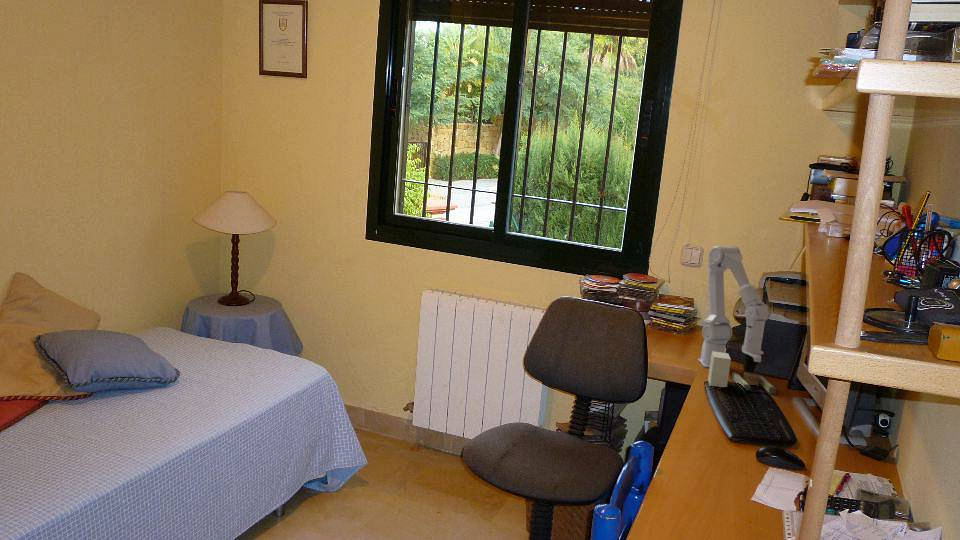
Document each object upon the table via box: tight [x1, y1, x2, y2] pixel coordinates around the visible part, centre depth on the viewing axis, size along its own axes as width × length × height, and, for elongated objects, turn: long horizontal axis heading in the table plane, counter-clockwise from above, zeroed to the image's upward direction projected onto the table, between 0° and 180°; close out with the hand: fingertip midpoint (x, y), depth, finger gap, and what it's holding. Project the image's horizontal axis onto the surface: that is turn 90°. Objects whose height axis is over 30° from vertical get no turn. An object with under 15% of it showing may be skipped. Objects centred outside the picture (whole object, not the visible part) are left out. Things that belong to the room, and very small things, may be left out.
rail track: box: [731, 372, 777, 396], centre depth 272 cm, size 15×10×2 cm, turn 0°
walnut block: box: [742, 371, 760, 387], centre depth 275 cm, size 4×4×4 cm
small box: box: [707, 351, 732, 388], centre depth 269 cm, size 8×6×10 cm
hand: (747, 376), depth 278 cm, fingers closed
